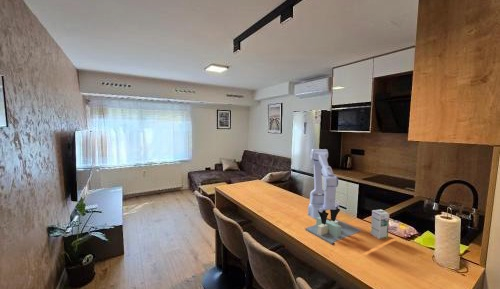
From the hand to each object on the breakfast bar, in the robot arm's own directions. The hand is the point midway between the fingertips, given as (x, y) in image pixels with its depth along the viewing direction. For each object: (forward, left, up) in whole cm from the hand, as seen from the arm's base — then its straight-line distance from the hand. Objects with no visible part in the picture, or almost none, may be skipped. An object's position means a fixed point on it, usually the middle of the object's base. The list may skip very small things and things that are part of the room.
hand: (328, 222), depth 124 cm
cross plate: (0, 0, -5) cm, 5 cm away
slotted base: (0, +5, -6) cm, 8 cm away
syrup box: (+17, +20, -6) cm, 27 cm away
